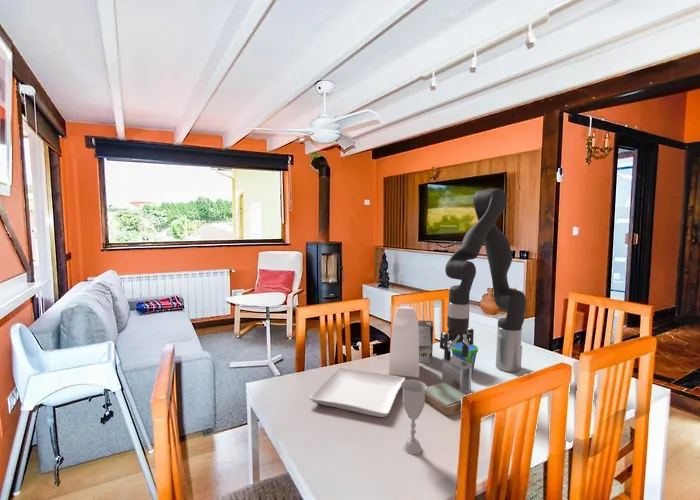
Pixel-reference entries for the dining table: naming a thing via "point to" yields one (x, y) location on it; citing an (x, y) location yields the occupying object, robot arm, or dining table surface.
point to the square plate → (359, 391)
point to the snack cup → (471, 353)
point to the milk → (404, 343)
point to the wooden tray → (444, 398)
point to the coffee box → (425, 341)
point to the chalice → (413, 410)
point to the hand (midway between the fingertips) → (456, 358)
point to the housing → (457, 374)
